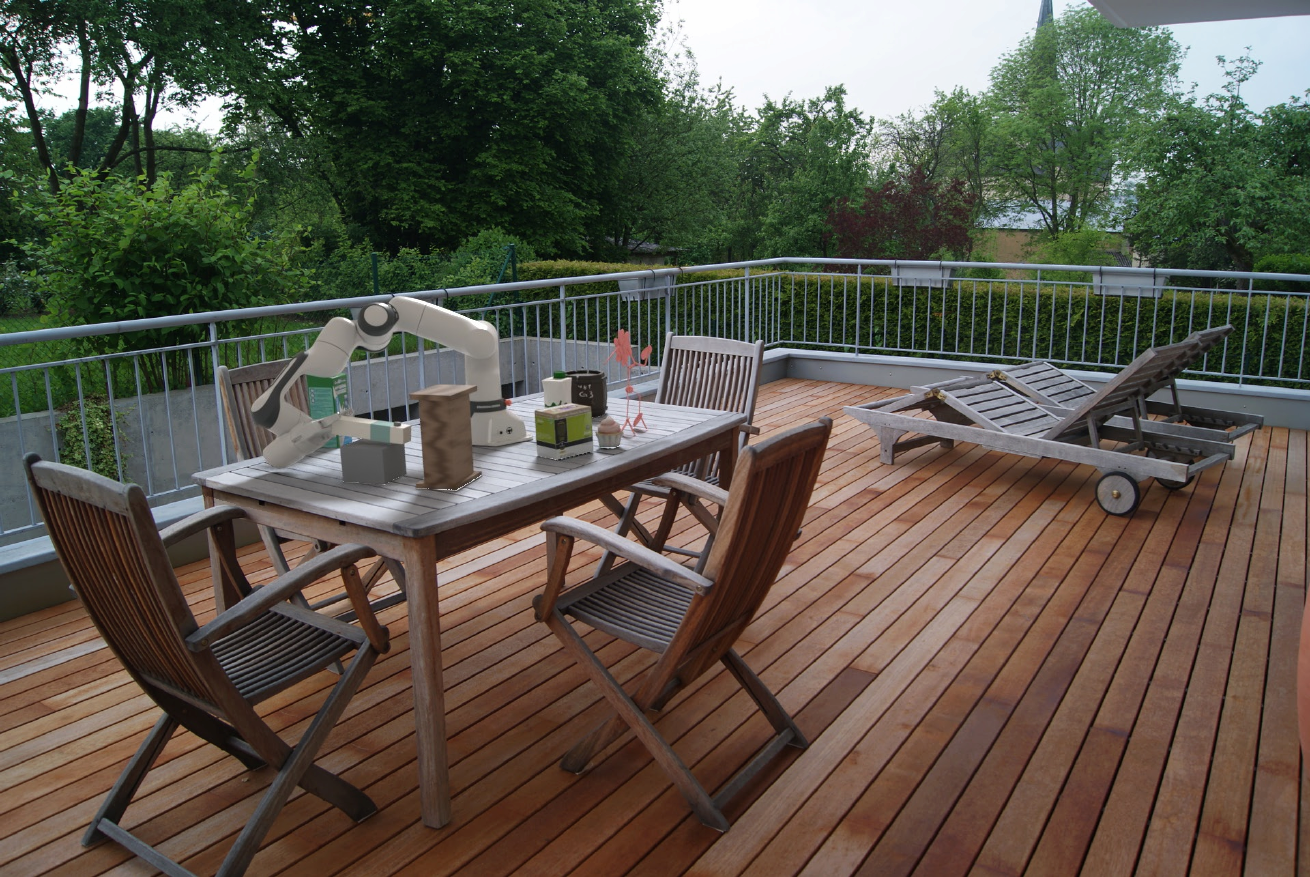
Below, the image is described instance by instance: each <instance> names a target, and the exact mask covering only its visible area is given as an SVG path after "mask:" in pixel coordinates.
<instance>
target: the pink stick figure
mask: <svg viewBox="0 0 1310 877" xmlns="http://www.w3.org/2000/svg"><path fill="white" fill-rule="evenodd" d="M630 336H631V335H630V331H625V330H624V329H623V328H622V329H619V330H618V331H617V338H616V337H614V339H613V344H614V347H615V348H614V351H612V352H611V354H610V356H608V358H607V359H606V360H605V362H604V363H603V365H605V366H606V364H607V362H608V361H609V360H610V359H611V358H612V357H613V356H614V354H616V357H615V362H616V363H621V366H622V367H625V366H626V367H627V386H625V390H624V391H625V392H626V397H627V407H626V408H627V409H626V419H625V422H624V423H623V425H622V426H621V427H622V428H620V429H621V431H623V432H624V430H625V428H626V427H627V425H629V427H630V430H631V431H632V434H633V435H634V434H636V432H635V431H634V429H633V428H636V426H637V425H638V424H639V423H640V422H642V424H643V426H644V429H645V430H646V429H648V427H647V425H646V423H645V421H644V419H643V412H641V397H642V396H641V393H639V392H637V391H634V387H633V386H632V385H629V383H630V371H631V370H632V368H634V367H635V366H641V367H644V368H645V367H646V366H647V362H648V358H649V356H650V354H652V352H653V347H652V345H650V344H649V345H648V346H645V348H644V349H643V350H642V352H640V358H641V360H642V361H643V360H645V361H644V364H642V363H638V362H636V361H635V359H634V357H633V351H632V347H631V342H630ZM629 357H630V358H631V360H632V362H633V363H631V365H628V359H629ZM633 393H634V394H636V395H638V396H639V402H638V403H639V406H638V414H637V415H636V417H635V418H634V420H633V424H631V422H630V417H629V416H628V415H629V401H630V399H629V395H630V394H633ZM653 427H656V425H653Z"/></svg>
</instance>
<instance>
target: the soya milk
mask: <svg viewBox="0 0 1310 877" xmlns="http://www.w3.org/2000/svg"><path fill="white" fill-rule="evenodd" d="M552 373H553V374H552V375H553V376H551V377H546V378H544V379H542V380H541V383H542V388H543V389H542V390H543V401H544V402H543V404H544V406H543V409H544V408H549V407H554V406H559V405H564V404H569V403H571V381H572V378H568V377H565V371H563V370H559V371H558V370H556V371H553V372H552Z"/></svg>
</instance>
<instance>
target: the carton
mask: <svg viewBox="0 0 1310 877" xmlns="http://www.w3.org/2000/svg"><path fill="white" fill-rule="evenodd" d="M332 434H335V435H342V436H349V437H352V438H356V439H362V438H363V439H369V440H375V441H382V442H389V443H397V444H407V443H409V442H411V441H412V425H411V424H405V423H402V422H401V421H394V422H392V421H386V420H377V419H370V418H369V419H368V418H362V417H355V416H353V417H349V416H342V415H341V419H339V420H337V421H335V422H334V423H332Z"/></svg>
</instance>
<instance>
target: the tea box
mask: <svg viewBox="0 0 1310 877" xmlns="http://www.w3.org/2000/svg"><path fill="white" fill-rule="evenodd" d="M534 425H535V427H534V428H535V441H536V442H535V444H536V454H537V457H539V456H542V457H541V458H543V457H546V458H545V459H547V458H553V459H556V460H557V461H559V460H558V459H561V458H565V459H567V458H566V457H569V458H571V457H570V456H573V457H576V456H575V455H578V454H582V455H585V454H584V453H586V452H589V451H593V452H594V451H595V450H594V436H593V433H594V432H593V430H594V429H593V418H592V413H591V407H590V406H584V405H578V404H572V403H569V404H564V405H559V406H554V407H549V408H544V407H543V408H540V409H535V410H534ZM586 454H587V453H586ZM578 456H579V455H578ZM556 460H555V461H556ZM561 460H562V459H561Z"/></svg>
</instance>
